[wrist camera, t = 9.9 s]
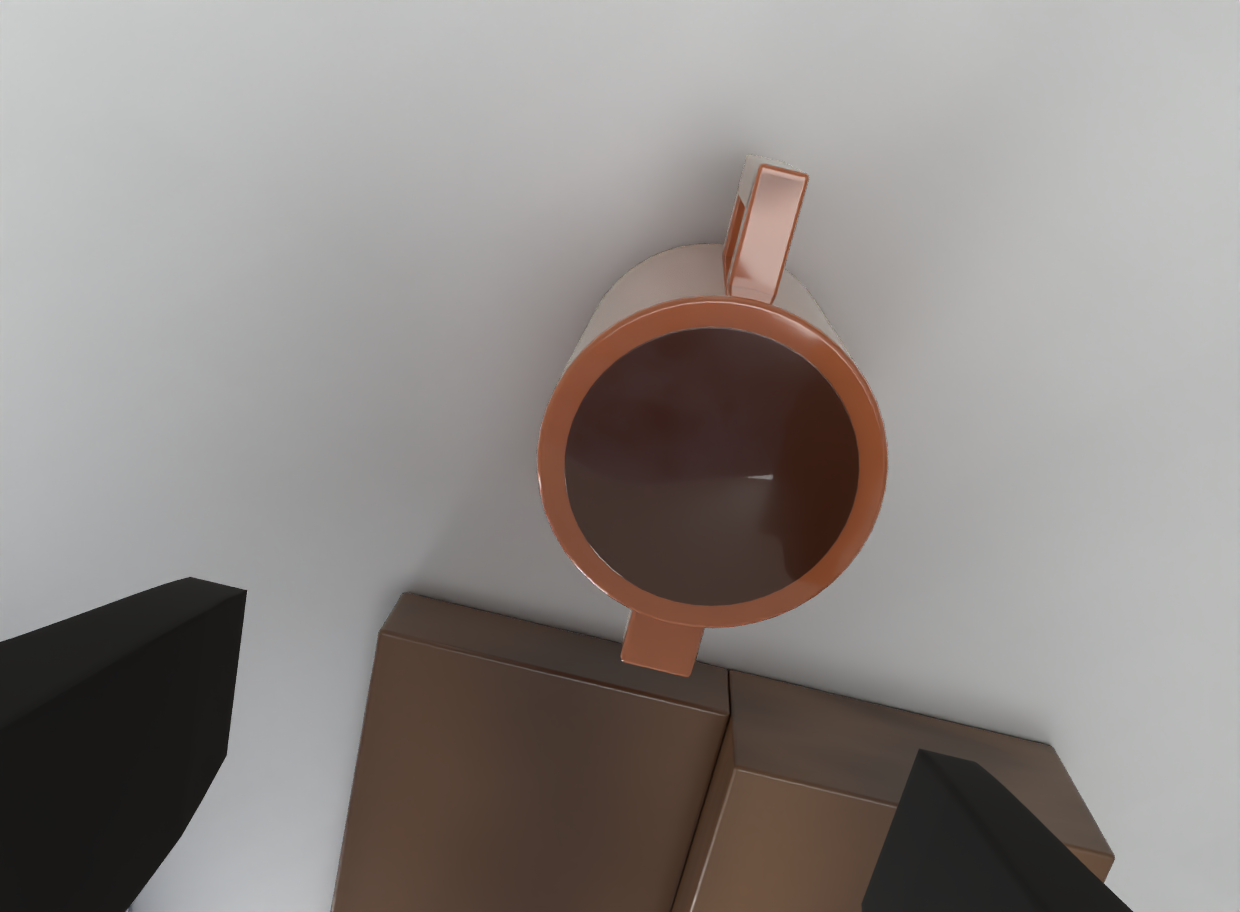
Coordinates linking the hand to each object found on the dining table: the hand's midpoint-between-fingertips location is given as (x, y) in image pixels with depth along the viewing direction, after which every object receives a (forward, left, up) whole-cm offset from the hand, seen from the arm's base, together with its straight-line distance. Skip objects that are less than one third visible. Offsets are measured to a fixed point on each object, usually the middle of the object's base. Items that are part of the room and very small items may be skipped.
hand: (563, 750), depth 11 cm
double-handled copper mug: (+1, +2, -10) cm, 10 cm away
